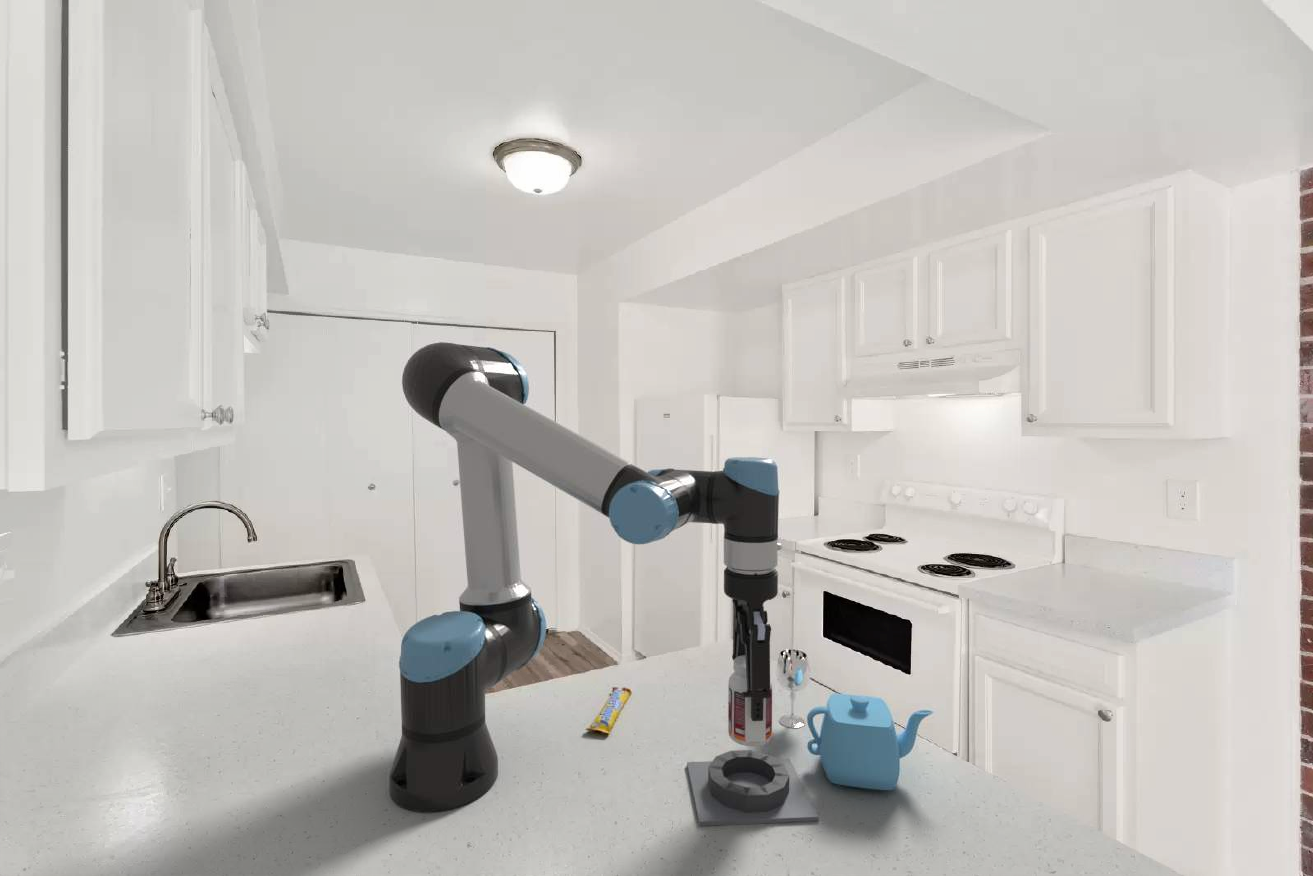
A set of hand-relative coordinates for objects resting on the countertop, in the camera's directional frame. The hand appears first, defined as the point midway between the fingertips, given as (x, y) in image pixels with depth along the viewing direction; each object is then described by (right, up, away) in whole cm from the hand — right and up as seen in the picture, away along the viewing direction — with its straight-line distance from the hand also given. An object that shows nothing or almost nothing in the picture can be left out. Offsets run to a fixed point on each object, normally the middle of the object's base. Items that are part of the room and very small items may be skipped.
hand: (749, 727), depth 91 cm
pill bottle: (0, -2, 0) cm, 2 cm away
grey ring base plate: (0, -9, +1) cm, 10 cm away
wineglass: (+10, -9, +21) cm, 25 cm away
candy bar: (-22, -9, +24) cm, 33 cm away
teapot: (+19, -10, +5) cm, 22 cm away
